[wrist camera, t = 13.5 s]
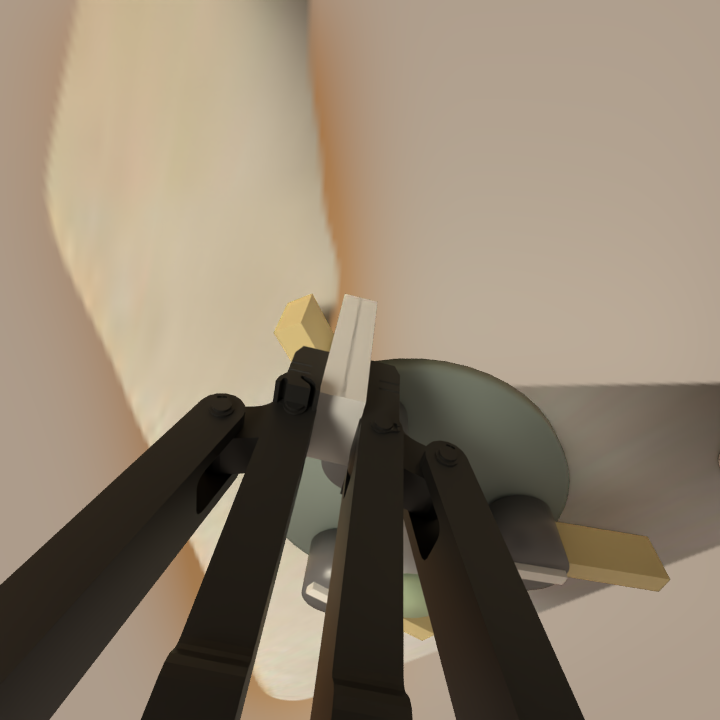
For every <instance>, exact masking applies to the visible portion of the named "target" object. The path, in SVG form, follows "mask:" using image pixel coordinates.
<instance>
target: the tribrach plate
mask: <svg viewBox="0 0 720 720" xmlns="http://www.w3.org/2000/svg"><path fill="white" fill-rule="evenodd" d="M376 362H380V363H384V364H389V365H393V366H395V367H396V369H397V371H398V373H399V374H400V393H399V394H400V402H401V403H402V404H403V405H404V407H405V409H406V411H407V415H408V436H409V437H410V438H412V439H413V440H415V441H417V442H419V443H421V444H423V445H425V446H427V445H428V444H429V443H431V442H433V441H439V440H441V441H446V442H449V443H452V444H454V445H456V446H457V447H458V448H460V449H461V450H462V451H463V452H464V454H465V455H466V457H467V458H468V461H469V463H470V465H471V467H472V469H473V472H474V474H475V476H476V478H477V481H478V483H479V485H480V487H481V490H482V492H483V494H484V496H485V498H486V501H487V503H488V505H490V504H491V503H493V502H495V501H496V500H499V499H501V498H504V497H508V496H514V495H525V496H531V497H535V498H538V499H540V500H542V501H544V502H545V503H546V504H547V505H548V506H549V507H550V509H551V512H552V514H553V517H554V520H555V522H557V521H558V519H559V517H560V515H561V513H562V511H563V509H564V506H565V503H566V500H567V496H568V489H569V473H568V465H567V462H566V459H565V455H564V452H563V450H562V447H561V445H560V443H559V440H558V438H557V436H556V434H555V432H554V430H553V428H552V426H551V424H550V422H549V421H548V420H547V418H546V417H545V416H544V414H543V413H542V412H541V411H540V409H539V408H538V407H537V406H536V405H535V404H534V403H533V402H532V401H530V400H529V399H528V398H527V397H526V396H525V395H524V394H522V393H521V392H519V391H518V390H516V389H515V388H514V387H512V386H511V385H509V384H508V383H506V382H504V381H502V380H500V379H498V378H496V377H494V376H492V375H490V374H487V373H484V372H482V371H479V370H476V369H473V368H470V367H468V366H463V365H459V364H455V363H450V362H445V361H437V360H429V359H390V360H382V361H376ZM340 492H341V488H339V487H338V486H336V485H335V484H333V483H332V482H331V481H330V480H329V479H328V478H327V476H326V475H325V473H324V471H323V468H322V464H321V460H319V459H315V458H310V457H306V460H305V464H304V469H303V473H302V477H301V481H300V485H299V489H298V493H297V497H296V501H295V505H294V509H293V513H292V516H291V520H290V524H289V528H288V532H287V536H286V538H287V539H288V540H290V541H291V542H292V543H293V544H294V545H295V546H297V547H298V548H299V549H301V550H302V551H303V552H305V553H306V554H308V555H309V550H310V545H311V541H312V539H313V537H314V536H315V535H317V534H318V533H320V532H322V531H325V530H329V529H337V528H338V520H339V513H340V506H341V499H342V494H340ZM426 616H429V614H428V610H427V607H426V603H425V599H424V595H423V591H422V588H421V584H420V580H419V576H418V572H417V569H416V565H415V561H414V557H413V553H412V550H411V546H410V542H409V538H408V534H407V531H406V527H405V523H404V519H403V617H405V618H420V617H426Z"/></svg>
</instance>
